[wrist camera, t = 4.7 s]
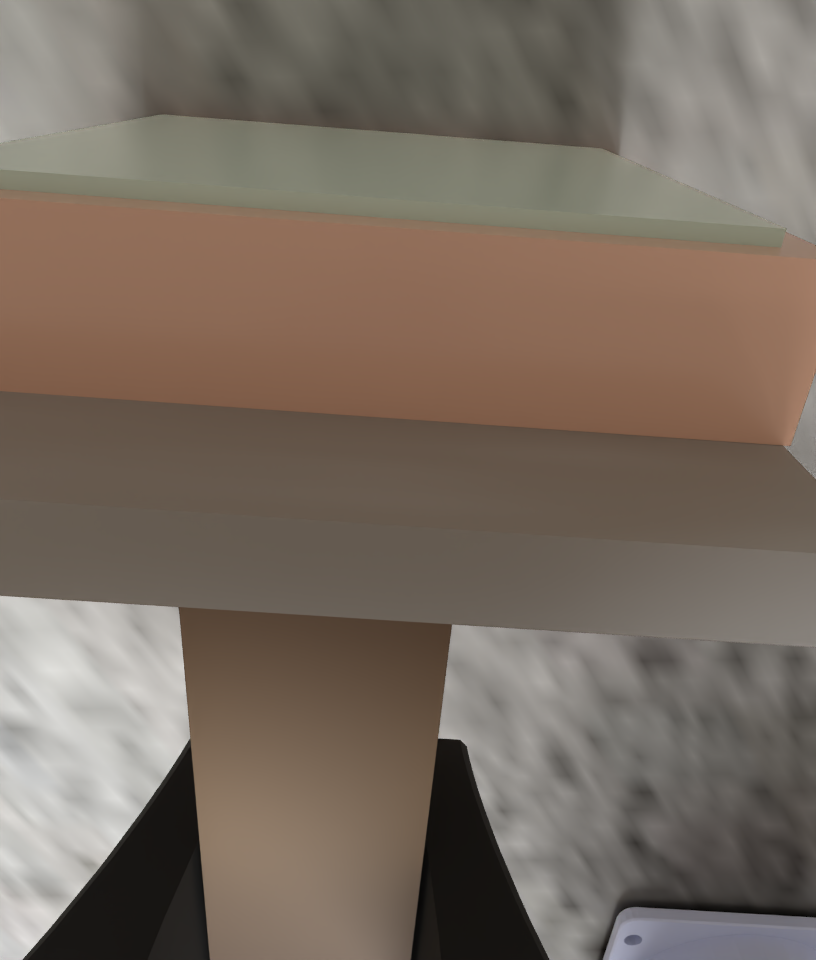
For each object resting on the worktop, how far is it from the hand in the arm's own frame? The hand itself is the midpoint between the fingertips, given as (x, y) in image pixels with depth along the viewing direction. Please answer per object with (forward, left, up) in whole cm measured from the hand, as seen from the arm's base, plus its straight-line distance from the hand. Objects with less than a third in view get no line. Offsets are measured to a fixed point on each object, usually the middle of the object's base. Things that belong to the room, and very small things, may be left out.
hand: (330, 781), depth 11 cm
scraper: (0, 0, -2) cm, 2 cm away
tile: (+7, 0, -6) cm, 10 cm away
